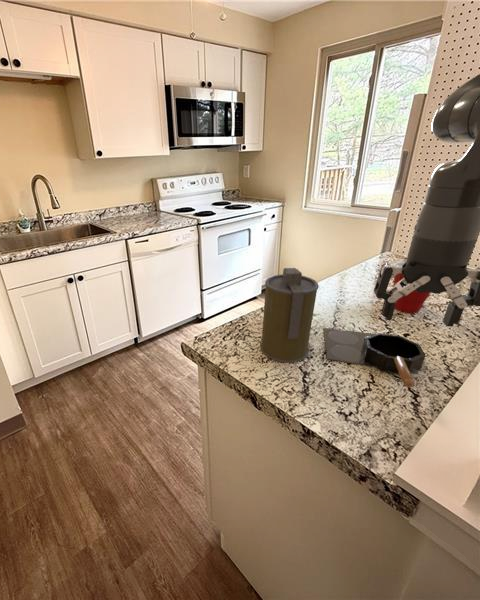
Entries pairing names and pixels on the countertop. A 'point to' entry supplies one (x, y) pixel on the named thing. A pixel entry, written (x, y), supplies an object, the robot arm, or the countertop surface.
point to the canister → (288, 315)
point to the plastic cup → (409, 297)
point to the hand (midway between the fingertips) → (416, 321)
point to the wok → (393, 355)
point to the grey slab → (345, 346)
